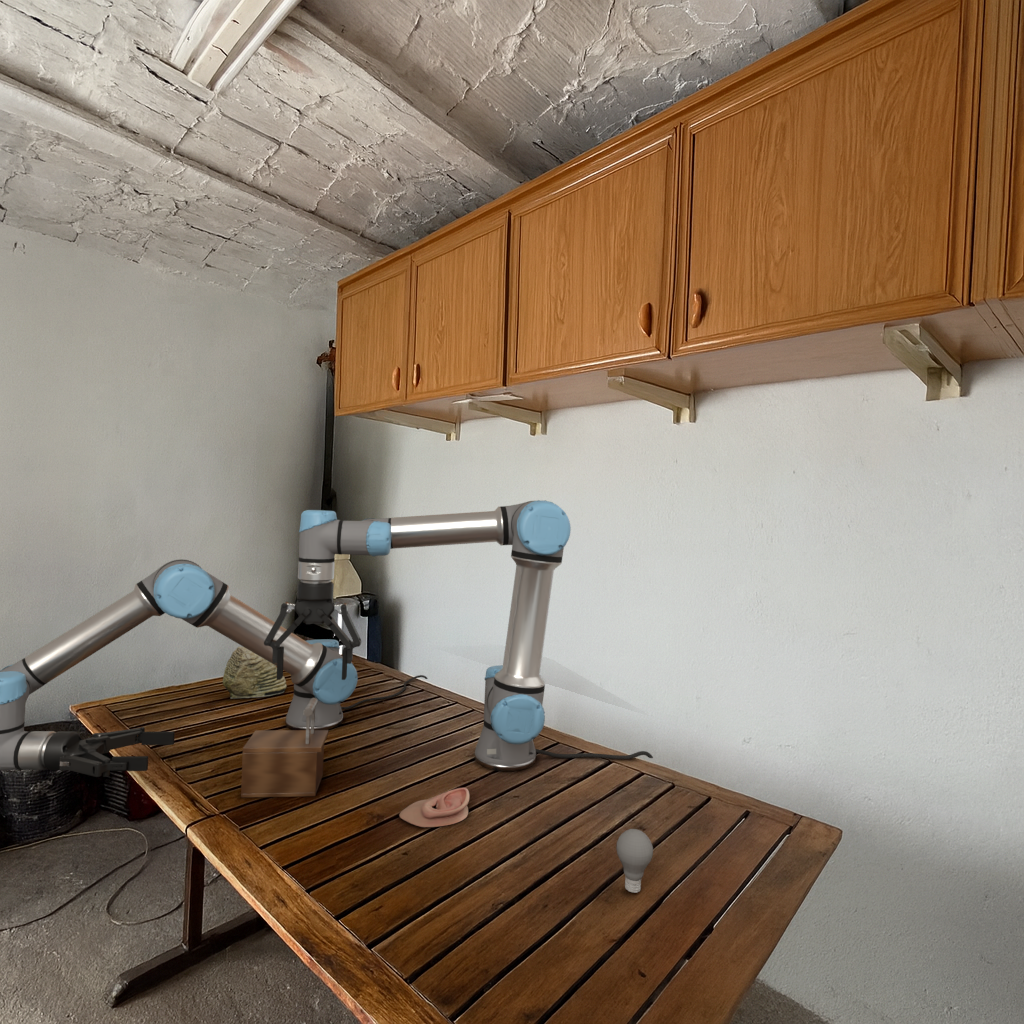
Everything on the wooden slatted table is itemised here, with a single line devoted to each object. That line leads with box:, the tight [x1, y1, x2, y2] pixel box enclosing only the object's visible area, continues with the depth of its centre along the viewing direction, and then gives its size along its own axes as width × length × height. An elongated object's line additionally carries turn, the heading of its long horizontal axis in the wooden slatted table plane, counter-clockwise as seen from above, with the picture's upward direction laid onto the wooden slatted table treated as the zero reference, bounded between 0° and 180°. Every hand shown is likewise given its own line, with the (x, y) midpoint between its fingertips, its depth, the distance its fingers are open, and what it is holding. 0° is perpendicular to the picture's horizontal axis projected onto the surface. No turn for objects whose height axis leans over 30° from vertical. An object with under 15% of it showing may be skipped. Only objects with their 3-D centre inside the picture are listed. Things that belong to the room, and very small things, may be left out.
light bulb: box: [615, 828, 654, 894], centre depth 106 cm, size 6×6×10 cm
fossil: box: [222, 646, 288, 699], centre depth 198 cm, size 9×18×15 cm, turn 132°
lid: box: [242, 698, 329, 754], centre depth 138 cm, size 16×10×9 cm, turn 98°
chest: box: [240, 745, 325, 799], centre depth 138 cm, size 15×10×9 cm
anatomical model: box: [398, 787, 471, 828], centre depth 128 cm, size 13×4×12 cm
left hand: (161, 750), depth 134 cm, fingers open, 13 cm apart
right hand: (312, 678), depth 138 cm, fingers open, 13 cm apart
